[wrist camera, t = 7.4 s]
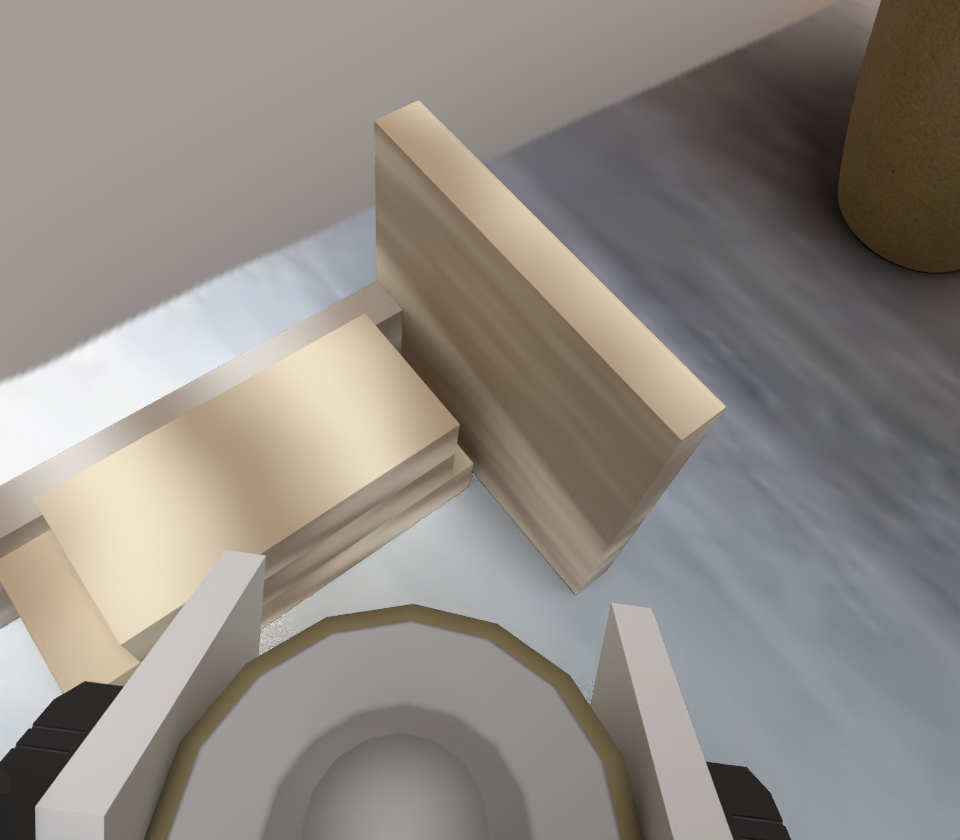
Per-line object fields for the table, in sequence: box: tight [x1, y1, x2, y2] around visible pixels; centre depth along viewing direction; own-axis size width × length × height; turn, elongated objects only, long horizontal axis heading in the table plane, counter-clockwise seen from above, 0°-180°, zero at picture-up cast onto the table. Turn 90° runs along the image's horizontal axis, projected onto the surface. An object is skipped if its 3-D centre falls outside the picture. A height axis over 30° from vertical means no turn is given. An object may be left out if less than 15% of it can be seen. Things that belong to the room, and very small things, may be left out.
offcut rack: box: [0, 101, 726, 694], centre depth 23 cm, size 18×12×12 cm
